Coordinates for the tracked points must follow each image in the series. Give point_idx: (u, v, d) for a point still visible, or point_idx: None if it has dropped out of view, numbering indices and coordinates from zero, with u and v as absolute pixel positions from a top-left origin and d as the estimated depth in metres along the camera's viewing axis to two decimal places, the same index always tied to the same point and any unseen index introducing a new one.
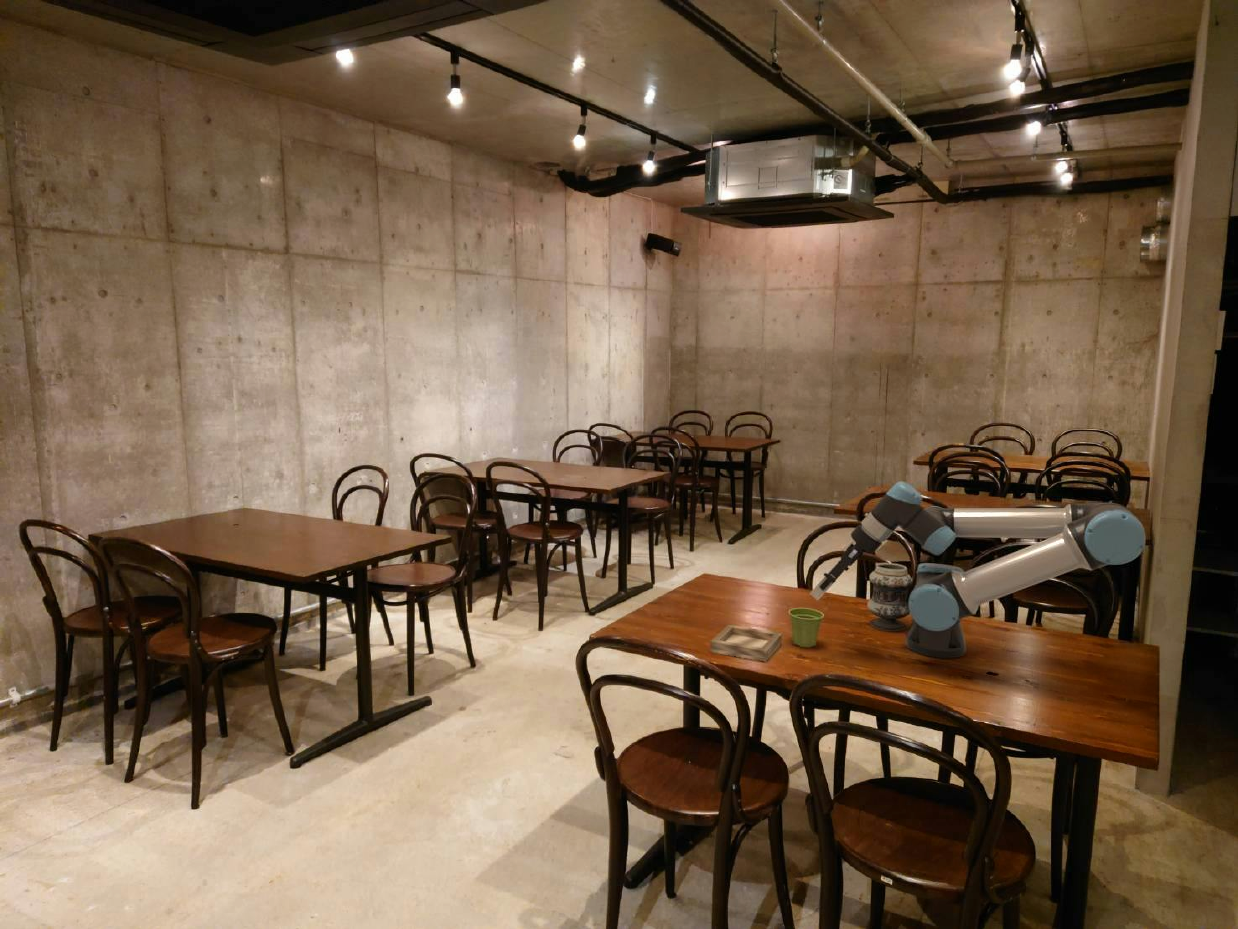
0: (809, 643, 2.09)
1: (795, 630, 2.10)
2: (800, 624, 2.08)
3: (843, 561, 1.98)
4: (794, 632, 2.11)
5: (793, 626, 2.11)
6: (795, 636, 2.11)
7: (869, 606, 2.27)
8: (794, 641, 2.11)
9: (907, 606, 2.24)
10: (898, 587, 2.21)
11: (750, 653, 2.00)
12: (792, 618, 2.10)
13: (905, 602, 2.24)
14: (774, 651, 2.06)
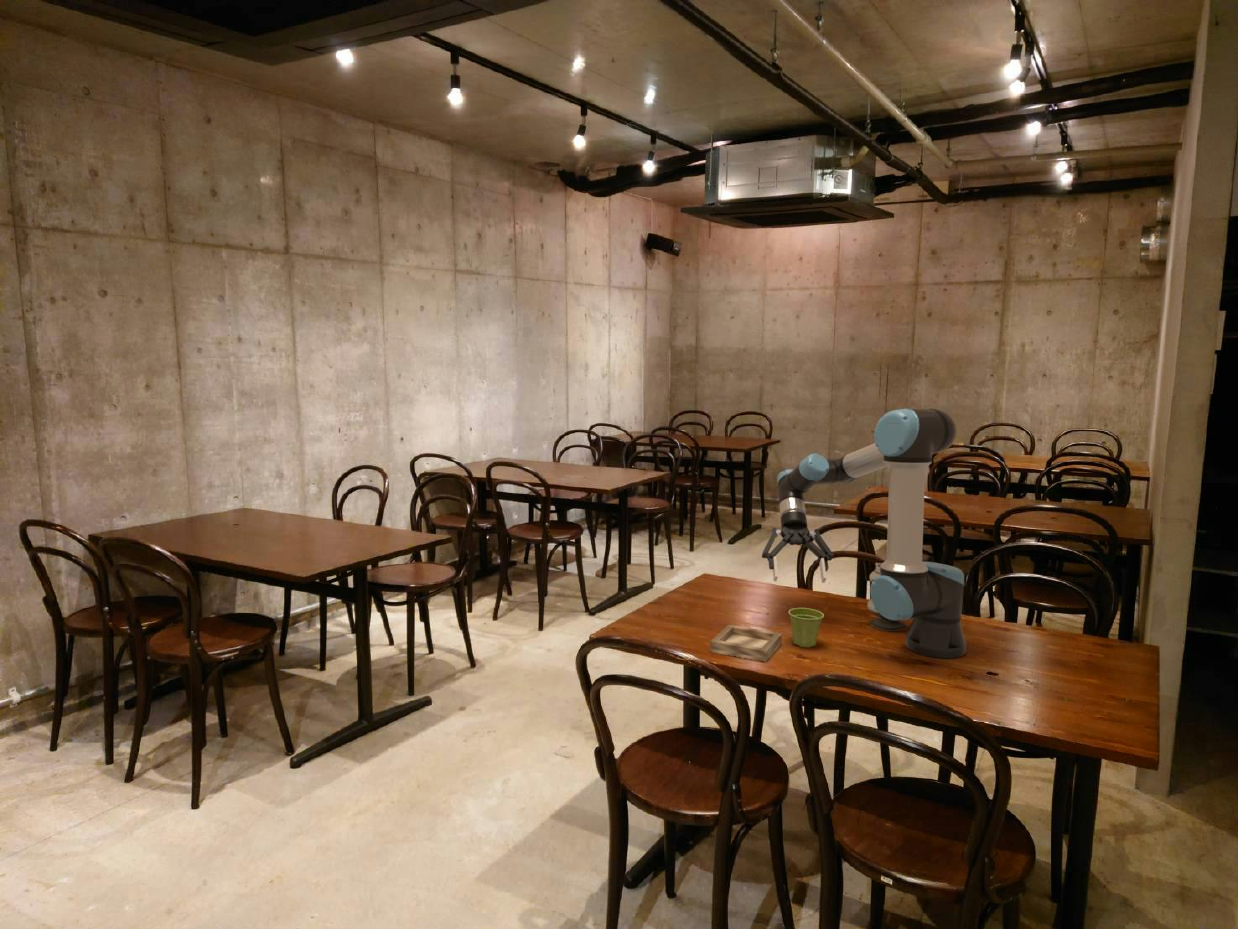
0: (809, 643, 2.09)
1: (795, 630, 2.10)
2: (800, 624, 2.08)
3: None
4: (794, 632, 2.11)
5: (793, 626, 2.11)
6: (795, 636, 2.11)
7: (869, 606, 2.27)
8: (794, 641, 2.11)
9: None
10: None
11: (750, 653, 2.00)
12: (792, 618, 2.10)
13: None
14: (774, 651, 2.06)
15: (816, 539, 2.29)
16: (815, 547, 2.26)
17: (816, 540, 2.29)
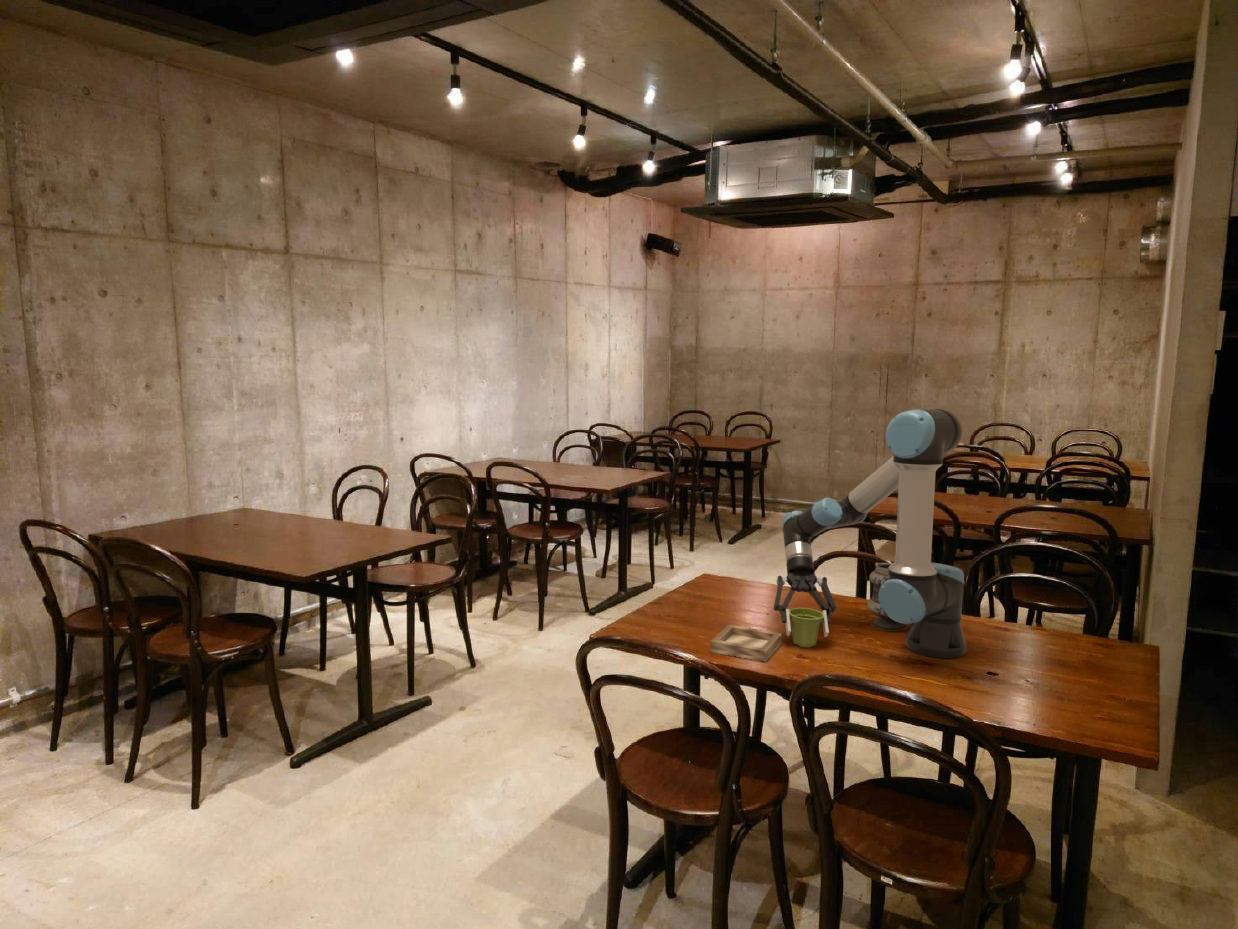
0: (809, 643, 2.09)
1: (795, 629, 2.10)
2: (800, 624, 2.08)
3: (777, 590, 2.18)
4: (794, 632, 2.11)
5: (793, 626, 2.11)
6: (795, 636, 2.11)
7: (869, 606, 2.27)
8: (794, 641, 2.11)
9: None
10: None
11: (750, 653, 2.00)
12: (792, 618, 2.10)
13: None
14: (774, 651, 2.06)
15: (822, 587, 2.17)
16: (819, 597, 2.14)
17: (822, 588, 2.17)
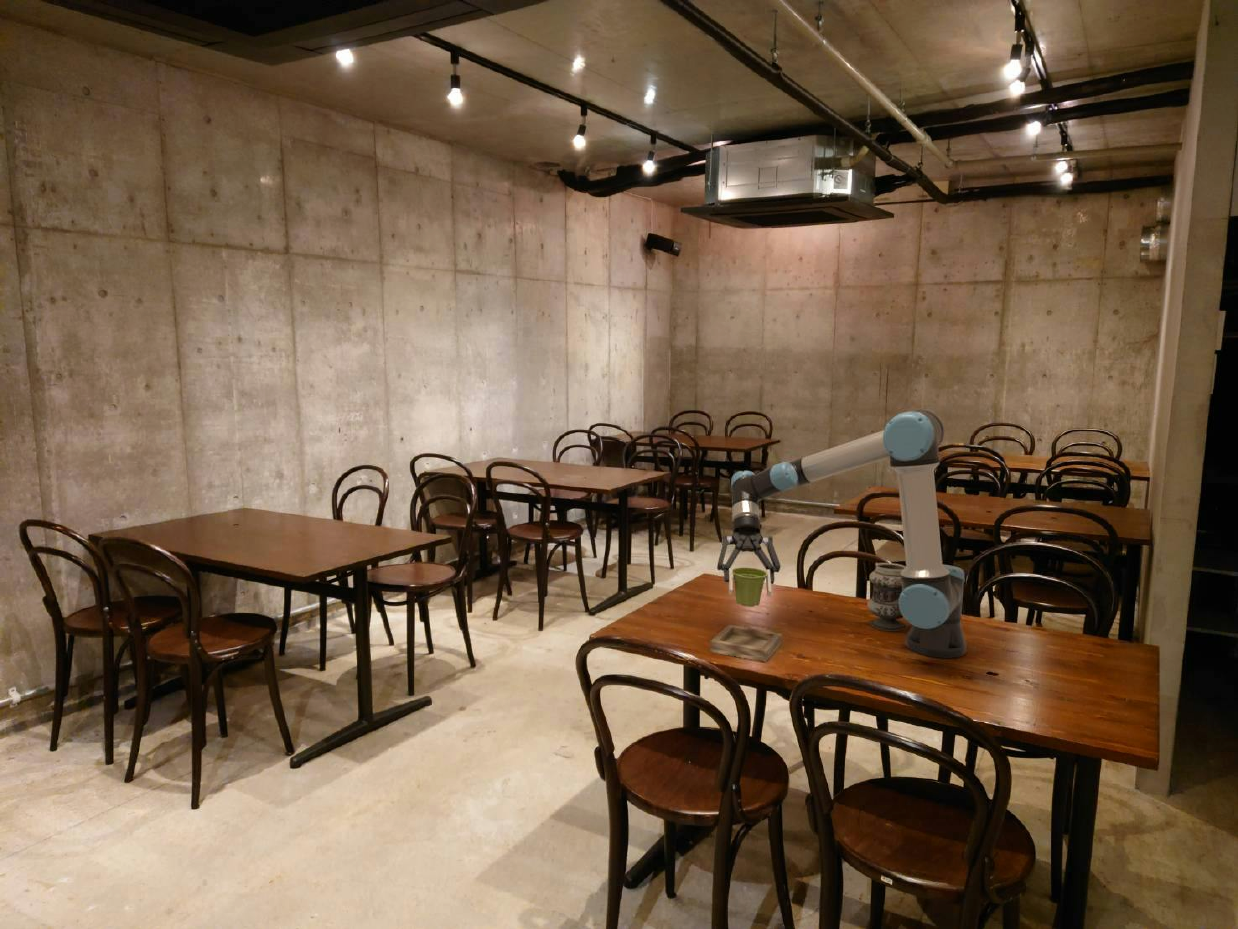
0: (752, 602, 2.04)
1: (737, 588, 2.05)
2: (743, 583, 2.03)
3: None
4: (737, 591, 2.06)
5: (736, 585, 2.06)
6: (738, 595, 2.06)
7: (869, 606, 2.27)
8: (737, 600, 2.06)
9: None
10: (898, 587, 2.21)
11: (750, 653, 2.00)
12: (735, 577, 2.05)
13: None
14: (774, 651, 2.06)
15: (768, 547, 2.12)
16: (763, 556, 2.09)
17: (768, 548, 2.12)
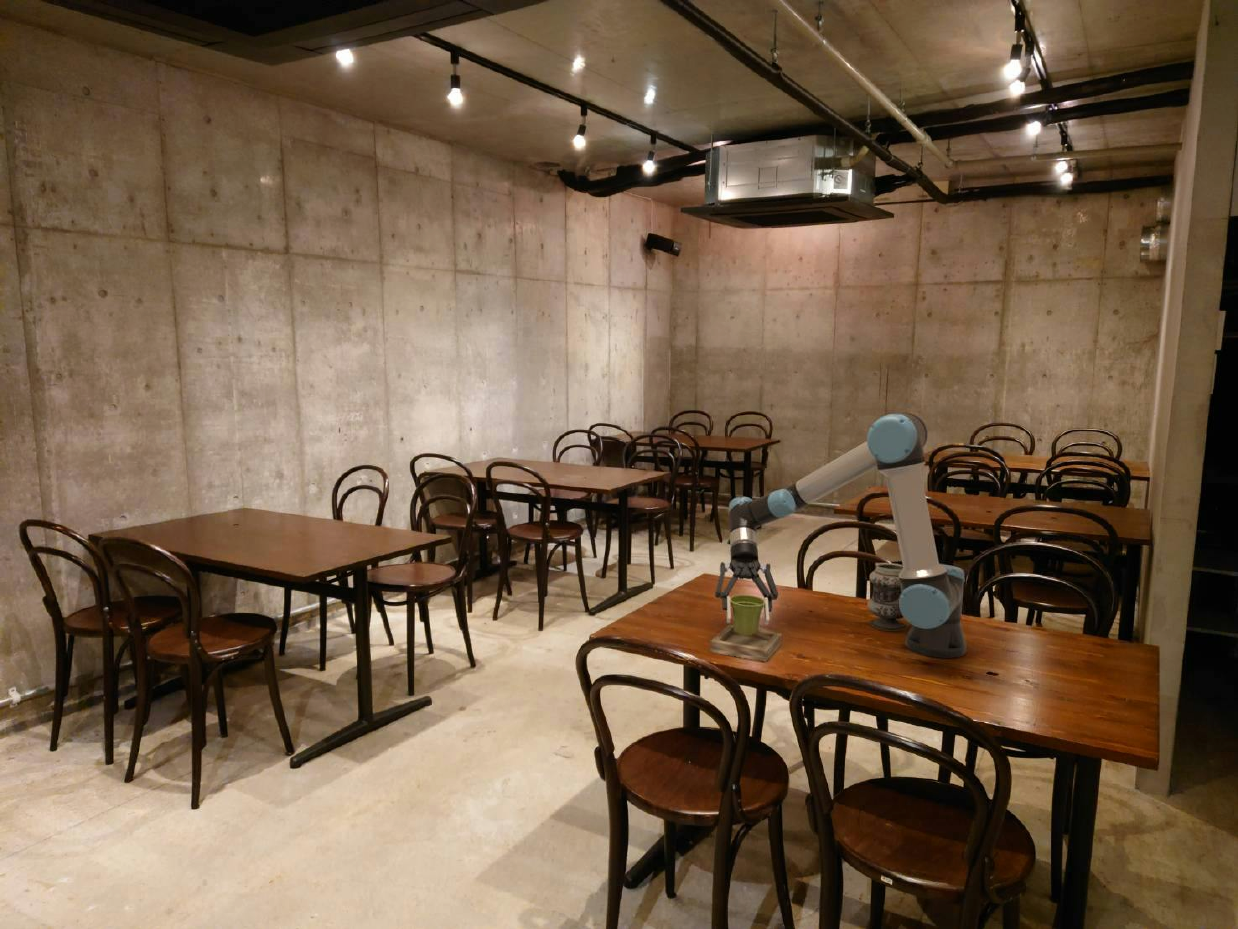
0: (750, 630, 2.05)
1: (735, 617, 2.06)
2: (741, 611, 2.04)
3: None
4: (735, 619, 2.06)
5: (734, 613, 2.06)
6: (736, 623, 2.06)
7: (869, 606, 2.27)
8: (735, 628, 2.07)
9: None
10: (898, 587, 2.21)
11: (750, 653, 2.00)
12: (733, 605, 2.06)
13: None
14: (774, 651, 2.06)
15: (765, 574, 2.13)
16: (761, 584, 2.10)
17: (765, 575, 2.13)
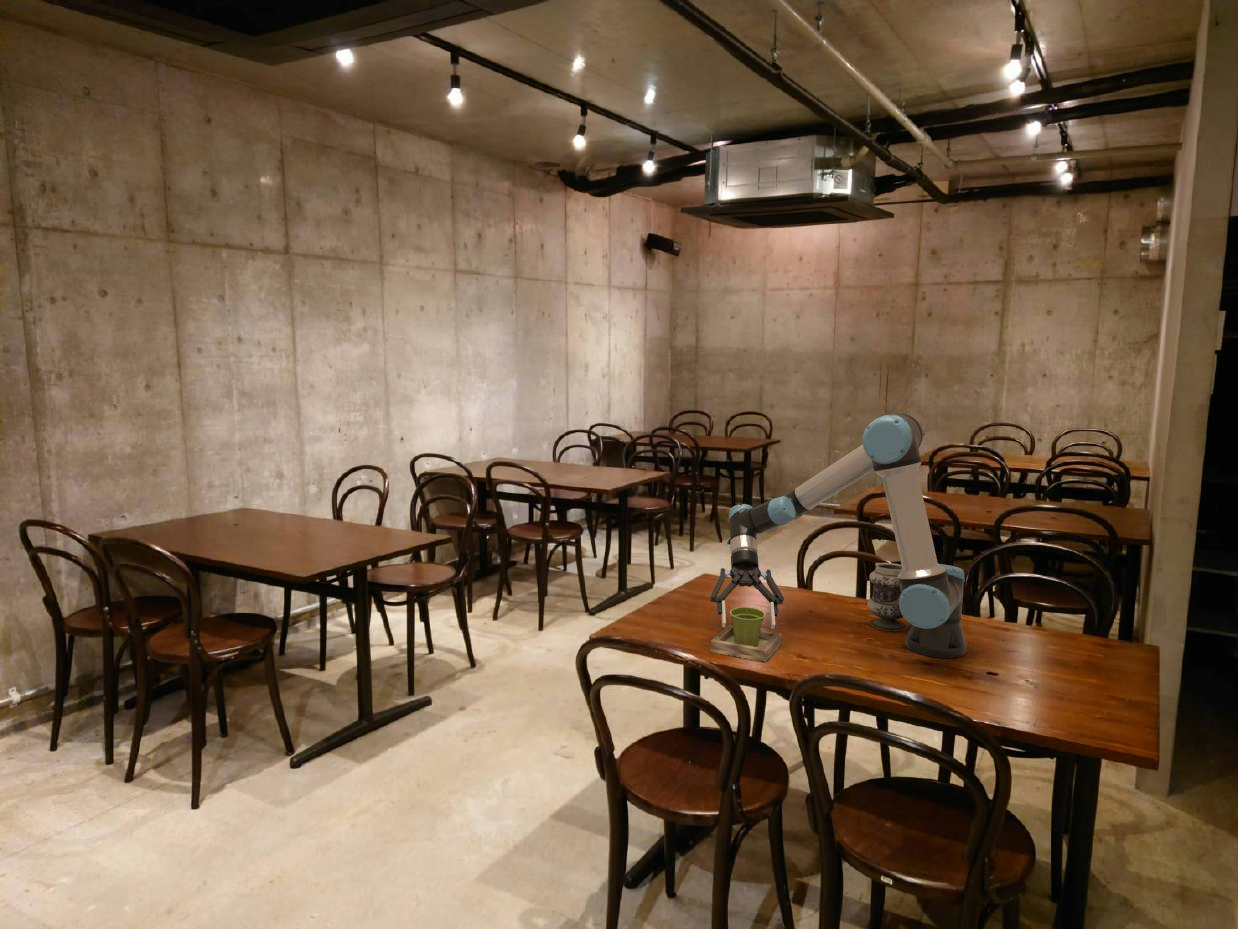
0: (750, 643, 2.05)
1: (736, 630, 2.06)
2: (741, 624, 2.04)
3: None
4: (735, 632, 2.07)
5: (734, 626, 2.07)
6: (736, 636, 2.07)
7: (869, 606, 2.27)
8: (736, 641, 2.07)
9: None
10: (898, 587, 2.21)
11: (750, 653, 2.00)
12: (733, 618, 2.06)
13: None
14: (774, 651, 2.06)
15: (767, 580, 2.13)
16: (765, 590, 2.10)
17: (767, 581, 2.13)
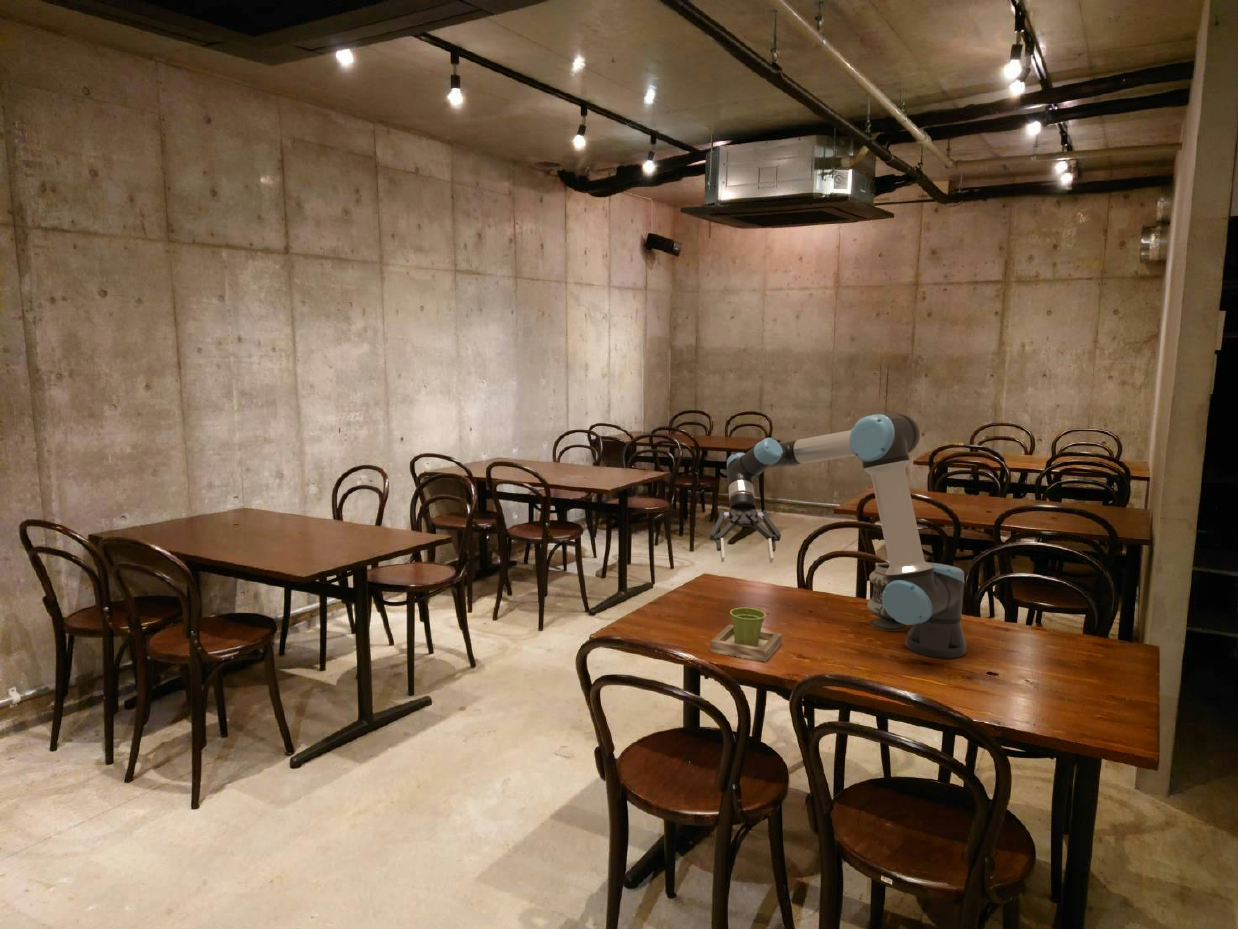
0: (750, 643, 2.05)
1: (736, 630, 2.06)
2: (741, 624, 2.04)
3: None
4: (735, 632, 2.07)
5: (734, 626, 2.07)
6: (736, 636, 2.07)
7: (869, 606, 2.27)
8: (736, 641, 2.07)
9: None
10: None
11: (750, 653, 2.00)
12: (733, 618, 2.06)
13: None
14: (774, 651, 2.06)
15: (764, 520, 2.28)
16: (763, 528, 2.25)
17: (764, 521, 2.28)
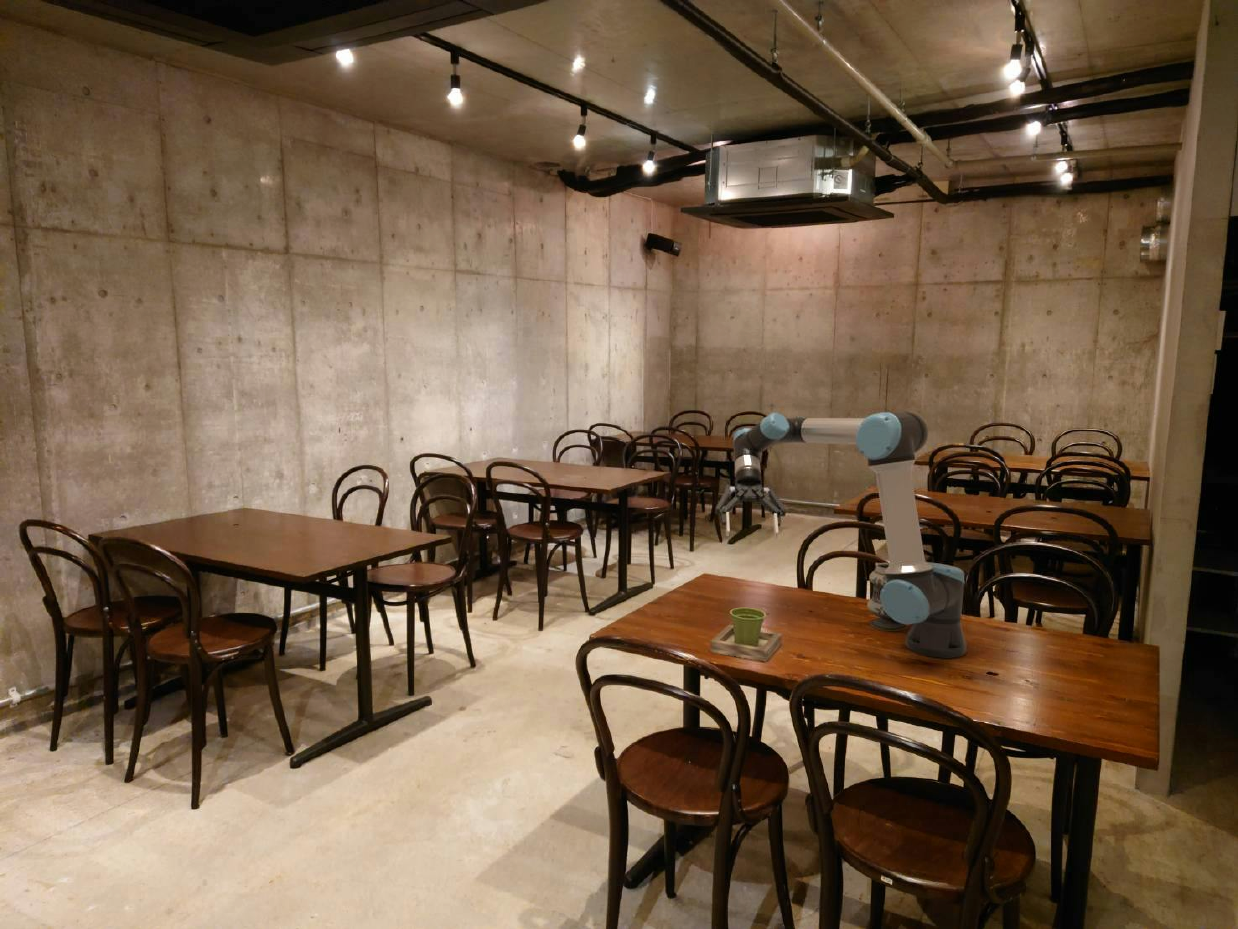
0: (750, 643, 2.05)
1: (736, 630, 2.06)
2: (741, 624, 2.04)
3: None
4: (735, 632, 2.07)
5: (734, 626, 2.07)
6: (736, 636, 2.07)
7: (869, 606, 2.27)
8: (736, 641, 2.07)
9: None
10: None
11: (750, 653, 2.00)
12: (733, 618, 2.06)
13: None
14: (774, 651, 2.06)
15: (770, 495, 2.28)
16: (768, 503, 2.25)
17: (770, 496, 2.28)
